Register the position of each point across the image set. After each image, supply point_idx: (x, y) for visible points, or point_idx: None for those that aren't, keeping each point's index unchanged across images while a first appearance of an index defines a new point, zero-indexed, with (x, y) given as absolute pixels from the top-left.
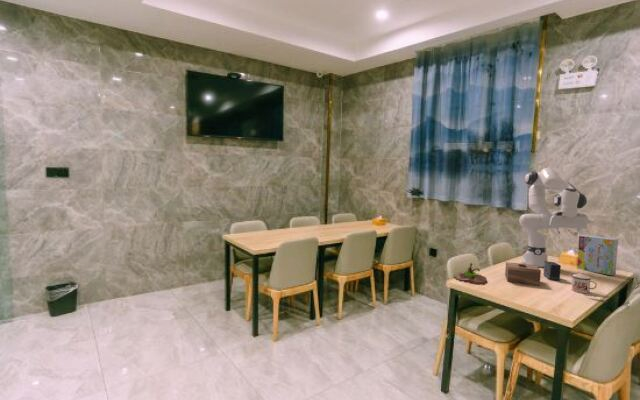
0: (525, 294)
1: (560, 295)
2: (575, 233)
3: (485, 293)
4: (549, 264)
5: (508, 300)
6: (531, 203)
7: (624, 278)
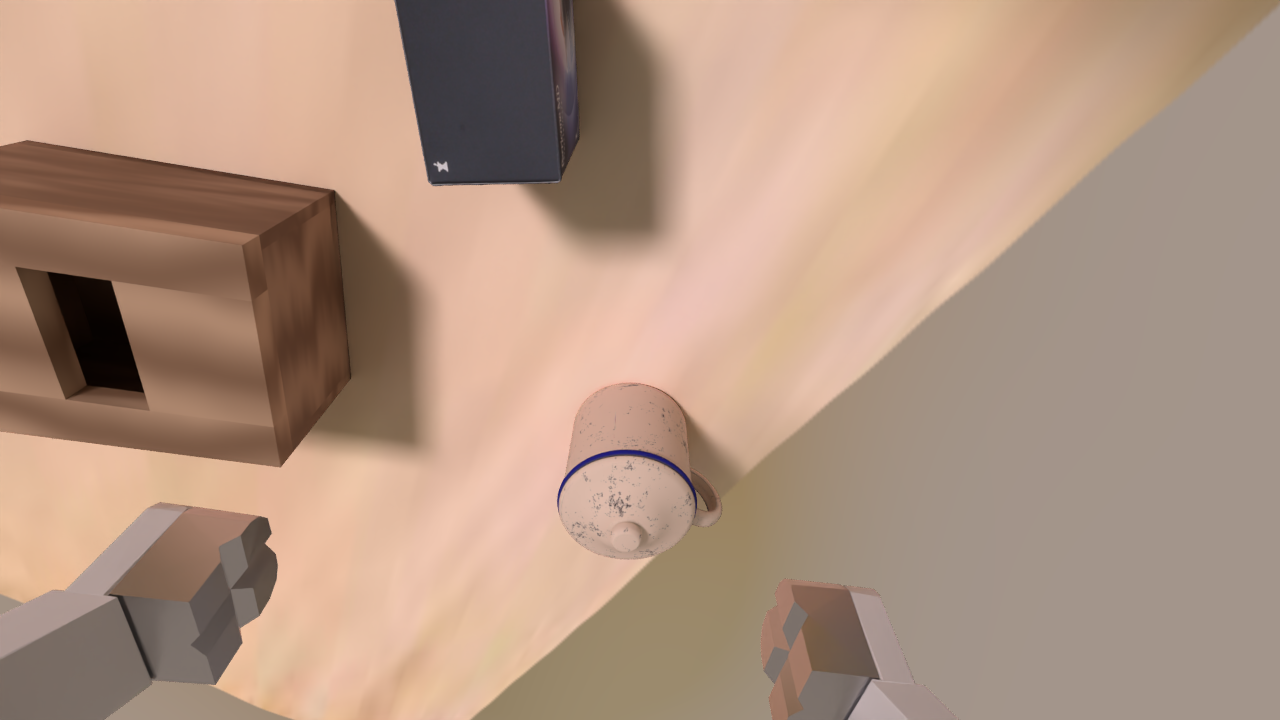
0: None
1: (452, 541)
2: (781, 705)
3: None
4: (421, 135)
5: None
6: None
7: None
